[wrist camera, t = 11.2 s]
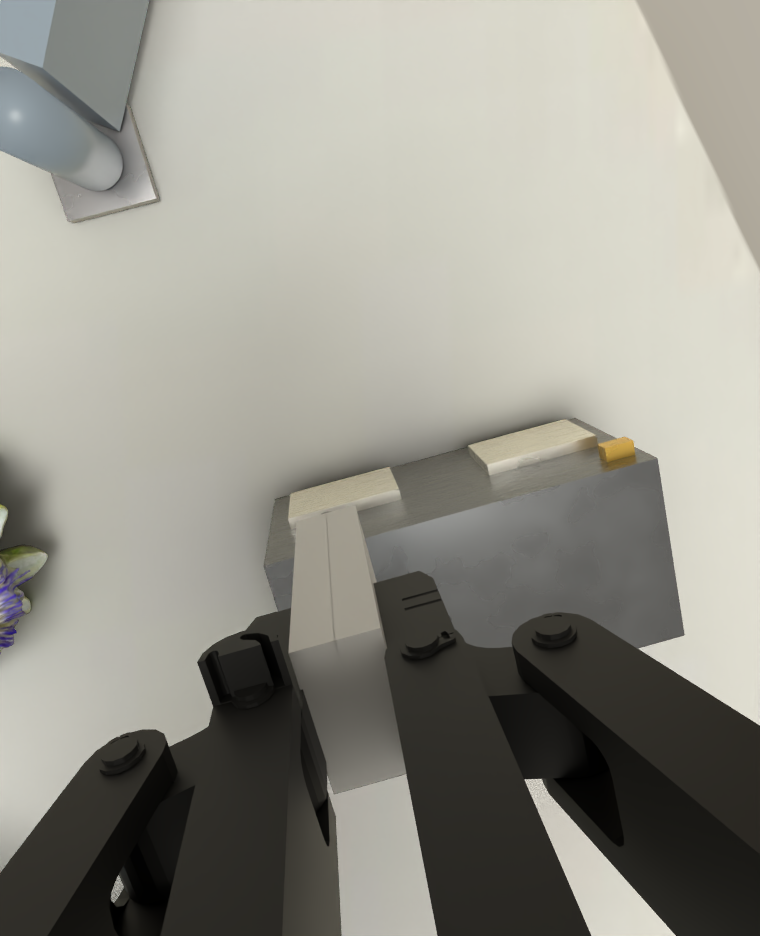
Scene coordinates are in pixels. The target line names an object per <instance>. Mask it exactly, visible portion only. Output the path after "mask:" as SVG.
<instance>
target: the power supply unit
mask: <svg viewBox="0 0 760 936" xmlns="http://www.w3.org/2000/svg"><path fill="white" fill-rule="evenodd" d="M354 505H355V506H356V509H357V513H358V516H359V520H360V524H361V527H362V531H363V534H364V538H365V542H366V545H367V549H368V553H369V556H370V560H371V563H372V567H373V571H374V574H375V578H376V582H380V581H384V580H387V579H391V578H394V577H398V576H402V575H405V574H409V573H413V572H416V571H421V572H423V573H425V574H427V575H429V576H430V577H432V578H433V579H434V582H435V584H436V586H437V589H438V591H439V593H440V596H441V598H442V600H443V603H444V605H445V608H446V610H447V612H448V615H449V617H450V619H451V622H452V624H453V627H454V629H455V630H457V631H458V632H459V633H460V634H461V635H462V636H463V638H464V641H465V642H466V643H467V644H470V645H473V646H476V647H484V648H502V647H512V636H513V633H514V632H515V631H516V630H517V628H518V627H519V626H520V625H522V624H523V623H525V622H527V621H529V620H530V619H532V618H536V617H539V616H542V615H543V614H548V613H552V614H553V613H555V612H563V613H572V614H579V615H581V616H584V617H587V618H589V619H591V620H593V621H594V622H596V623H597V624H599V625H601V626H602V627H604V628H605V629H607V630H609V631H610V632H612V633H613V634H615V635H617V636H618V637H620V638H621V639H623V640H624V641H626V642H628V643H629V644H631V645H632V646H634V647H636V648H637V649H638V648H641V647H645V646H648V645H652V644H655V643H659V642H663V641H666V640H670V639H673V638H677V637H680V636H684V629H683V622H682V616H681V609H680V603H679V596H678V590H677V583H676V577H675V570H674V563H673V557H672V550H671V544H670V537H669V531H668V524H667V518H666V511H665V505H664V498H663V491H662V485H661V478H660V472H659V465H658V459H657V458H656V457H654V456H652V455H650V454H648V453H646V452H644V451H642V450H640V449H638V448H636V447H634V443H633V440H631V439H629V438H626V437H622V438H618V439H617V438H615V437H613V436H611V435H609V434H607V433H605V432H603V431H601V430H599V429H596V428H594V427H592V426H590V425H588V424H586V423H584V422H582V421H580V420H578V419H576V418H573V419H570V420H566V419H563V420H559V421H556V422H552V423H548V424H545V425H541V426H537V427H533V428H530V429H526V430H522V431H519V432H515V433H511V434H508V435H504V436H500V437H497V438H493V439H489V440H485V441H482V442H478V443H474V444H471V445H468V447H466V448H463V449H459V450H455V451H452V452H448V453H444V454H441V455H437V456H433V457H429V458H426V459H422V460H418V461H415V462H411V463H407V464H404V465H400V466H396V467H393V468H390V467H386V468H382V469H378V470H375V471H371V472H367V473H364V474H360V475H356V476H353V477H349V478H345V479H341V480H338V481H334V482H330V483H327V484H323V485H319V486H316V487H312V488H308V489H304V490H301V491H297V492H293V493H291V494H290V495H289V496H285V497H282V498H278V499H275V503H274V509H273V515H272V520H271V526H270V532H269V538H268V543H267V549H266V555H265V561H264V569H265V572H266V575H267V578H268V581H269V584H270V587H271V590H272V593H273V597H274V600H275V603H276V606H277V609H278V611H282V610H285V609H289V608H291V604H292V588H293V573H294V557H295V541H296V525H297V521H299V520H302V519H306V518H310V517H313V516H317V515H321V514H324V513H328V512H332V511H335V510H339V509H343V508H346V507H350V506H354Z"/></svg>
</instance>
